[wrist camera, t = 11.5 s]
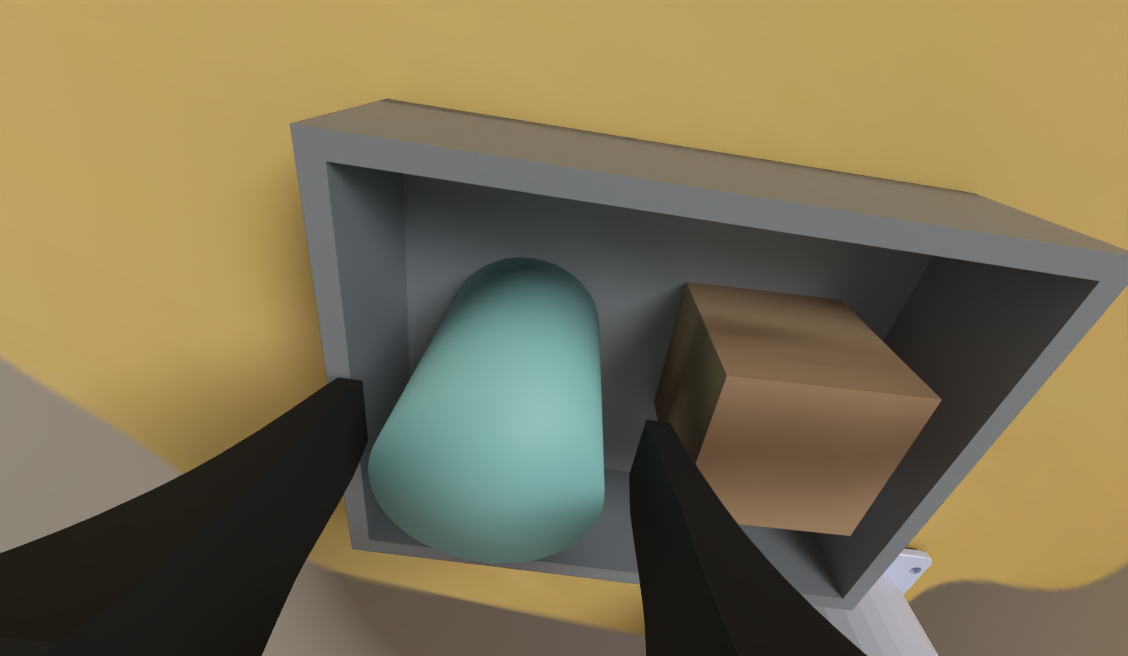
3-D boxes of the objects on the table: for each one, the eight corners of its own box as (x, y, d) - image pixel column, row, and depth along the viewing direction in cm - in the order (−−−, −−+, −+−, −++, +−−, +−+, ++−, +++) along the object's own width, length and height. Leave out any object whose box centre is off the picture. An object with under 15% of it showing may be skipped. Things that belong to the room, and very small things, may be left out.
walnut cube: (785, 417, 18) (850, 536, 13) (654, 402, 18) (676, 517, 13) (840, 299, 15) (941, 399, 11) (686, 281, 15) (727, 375, 11)
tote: (796, 493, 21) (852, 610, 16) (402, 440, 20) (352, 549, 16) (974, 193, 14) (1149, 258, 10) (386, 98, 13) (289, 123, 9)
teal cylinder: (583, 395, 17) (579, 577, 11) (448, 372, 17) (371, 545, 11) (614, 273, 15) (630, 423, 9) (457, 243, 15) (363, 377, 9)
